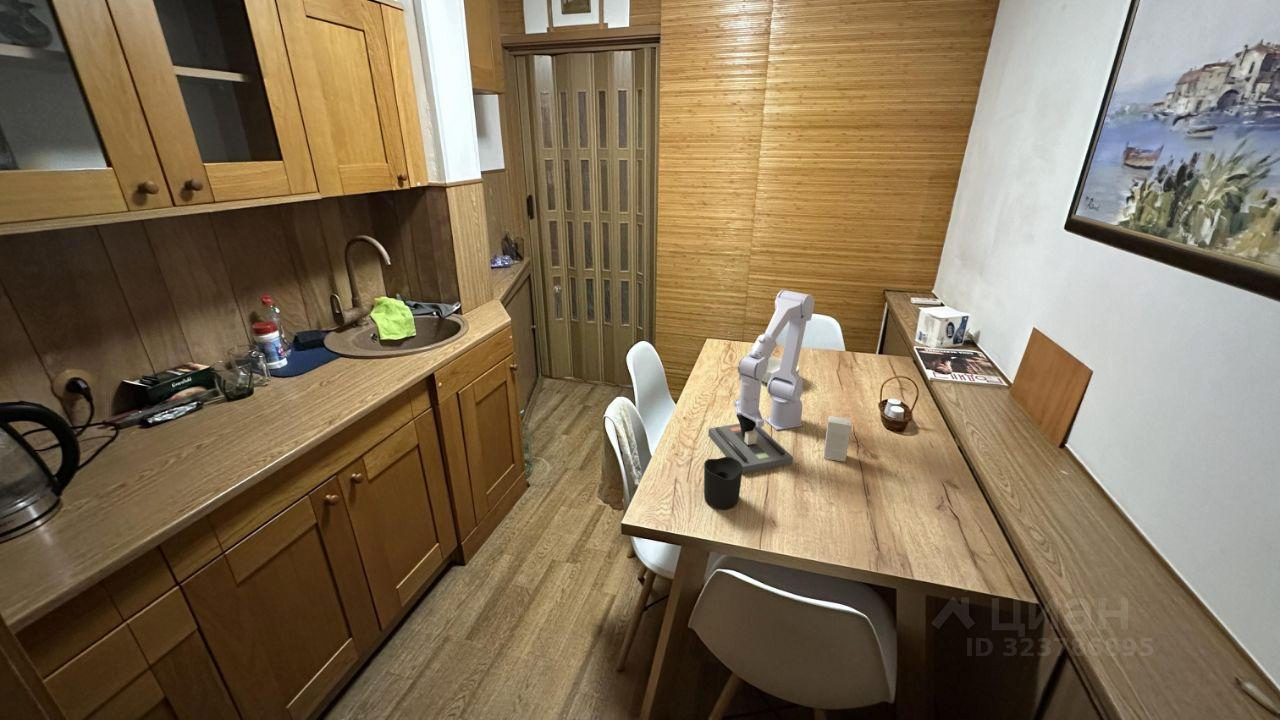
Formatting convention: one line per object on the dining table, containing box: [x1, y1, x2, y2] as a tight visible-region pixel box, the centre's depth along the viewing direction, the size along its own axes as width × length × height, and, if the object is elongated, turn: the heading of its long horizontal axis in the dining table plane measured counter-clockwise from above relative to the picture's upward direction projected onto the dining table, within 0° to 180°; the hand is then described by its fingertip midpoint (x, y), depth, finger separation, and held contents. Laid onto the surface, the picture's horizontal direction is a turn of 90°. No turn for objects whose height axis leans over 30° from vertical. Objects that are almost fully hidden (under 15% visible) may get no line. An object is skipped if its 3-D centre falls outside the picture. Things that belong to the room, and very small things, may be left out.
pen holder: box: [703, 456, 743, 510], centre depth 124 cm, size 9×9×10 cm
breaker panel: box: [708, 423, 794, 475], centre depth 147 cm, size 16×22×4 cm
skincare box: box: [823, 415, 852, 462], centre depth 141 cm, size 6×4×12 cm
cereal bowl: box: [761, 357, 800, 385], centre depth 192 cm, size 17×17×7 cm
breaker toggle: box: [744, 431, 757, 445], centre depth 145 cm, size 3×2×3 cm
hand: (746, 436), depth 148 cm, fingers closed
